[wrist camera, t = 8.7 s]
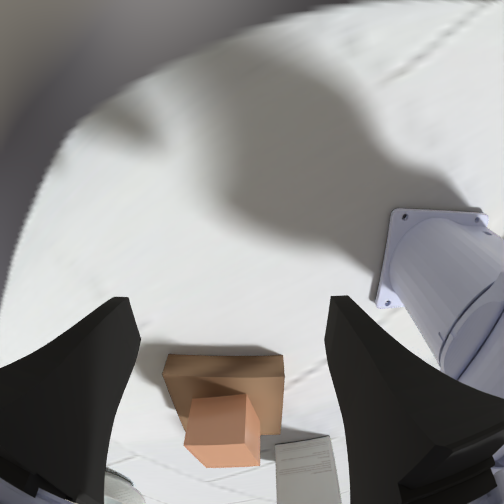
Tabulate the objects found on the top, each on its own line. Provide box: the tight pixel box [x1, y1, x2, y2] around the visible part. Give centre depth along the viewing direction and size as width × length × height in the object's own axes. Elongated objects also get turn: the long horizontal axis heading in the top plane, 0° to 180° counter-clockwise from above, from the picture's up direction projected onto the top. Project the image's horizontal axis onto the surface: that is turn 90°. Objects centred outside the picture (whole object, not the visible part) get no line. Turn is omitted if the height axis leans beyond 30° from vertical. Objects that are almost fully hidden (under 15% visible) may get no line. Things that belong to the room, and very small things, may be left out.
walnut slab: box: [162, 354, 285, 435], centre depth 26 cm, size 10×10×3 cm
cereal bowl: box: [104, 471, 146, 504], centre depth 41 cm, size 17×17×7 cm
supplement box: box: [275, 436, 342, 504], centre depth 27 cm, size 7×7×13 cm
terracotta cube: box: [184, 394, 260, 468], centre depth 22 cm, size 5×5×5 cm
